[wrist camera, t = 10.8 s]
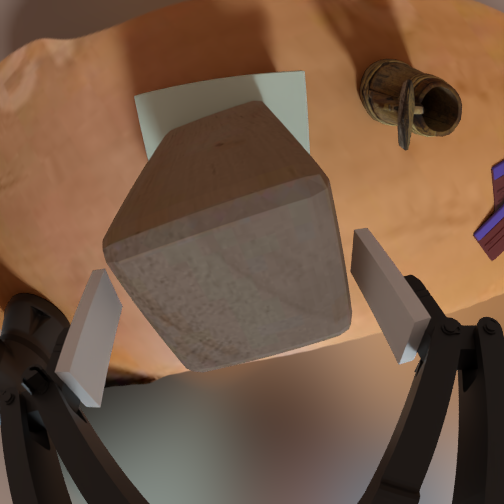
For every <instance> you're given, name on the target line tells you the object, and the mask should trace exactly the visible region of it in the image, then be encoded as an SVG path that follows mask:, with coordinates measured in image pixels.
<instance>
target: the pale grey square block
mask: <svg viewBox="0 0 504 504" xmlns="http://www.w3.org/2000/svg"><path fill="white" fill-rule="evenodd" d="M134 98H135V103H136V108H137V113H138V117H139V122H140V127H141V131H142V136H143V140H144V144H145V149H146V153H147V157H148V161H149V159H150V158H151V156H152V155H153V153H154V151H155V150H156V148H157V147H158V145H159V144H160V142H161V141H162V139H163V138H164V136H165V135H166V134H167V133H168V132H169V131H170V130H172V129H175V128H177V127H180V126H182V125H185V124H187V123H190V122H193V121H195V120H198V119H201V118H203V117H206V116H209V115H212V114H214V113H217V112H220V111H223V110H226V109H229V108H232V107H235V106H238V105H241V104H244V103H247V102H250V101H253V100H254V101H262V102H263V103H264V104H265V105H266V106H267V107H268V108H269V109H270V110H271V111H272V112H273V114H274V115H275V116H276V117H277V118H278V119H279V120H280V121H281V122H282V123H283V125H284V126H285V127H286V128H287V129H288V130H289V131H290V132H291V134H292V135H293V136H294V137H295V138H296V139H297V140H298V142H299V143H300V144H301V145H302V146H303V147H304V149H305V150H306V151H307V152H308V153H309V154H310V148H309V128H308V111H307V97H306V83H305V71H283V72H270V73H259V74H249V75H241V76H233V77H225V78H218V79H212V80H206V81H200V82H194V83H188V84H183V85H178V86H173V87H168V88H164V89H159V90H155V91H150V92H146V93H142V94H138V95H136V96H134Z"/></svg>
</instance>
